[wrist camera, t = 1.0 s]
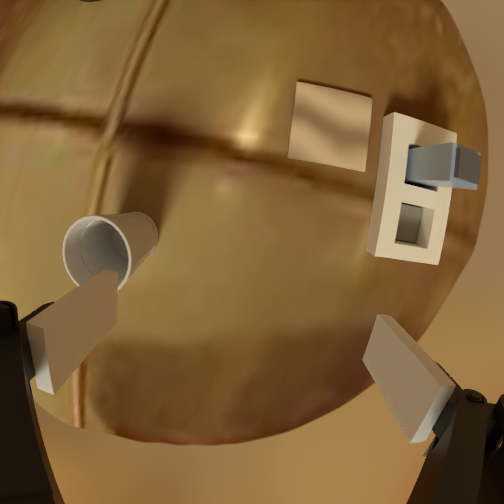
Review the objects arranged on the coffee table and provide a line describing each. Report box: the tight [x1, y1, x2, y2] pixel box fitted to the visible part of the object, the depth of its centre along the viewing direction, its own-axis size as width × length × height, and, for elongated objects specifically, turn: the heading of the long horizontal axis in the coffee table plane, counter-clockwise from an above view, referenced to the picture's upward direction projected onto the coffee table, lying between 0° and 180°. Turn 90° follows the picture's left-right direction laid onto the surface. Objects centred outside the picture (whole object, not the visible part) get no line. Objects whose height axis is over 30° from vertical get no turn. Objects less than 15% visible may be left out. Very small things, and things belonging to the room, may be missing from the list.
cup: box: [63, 212, 158, 290], centre depth 34 cm, size 8×8×12 cm
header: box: [365, 112, 457, 265], centre depth 37 cm, size 18×10×4 cm, turn 173°
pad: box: [287, 82, 372, 172], centre depth 36 cm, size 10×10×1 cm
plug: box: [405, 142, 481, 190], centre depth 31 cm, size 4×4×13 cm
